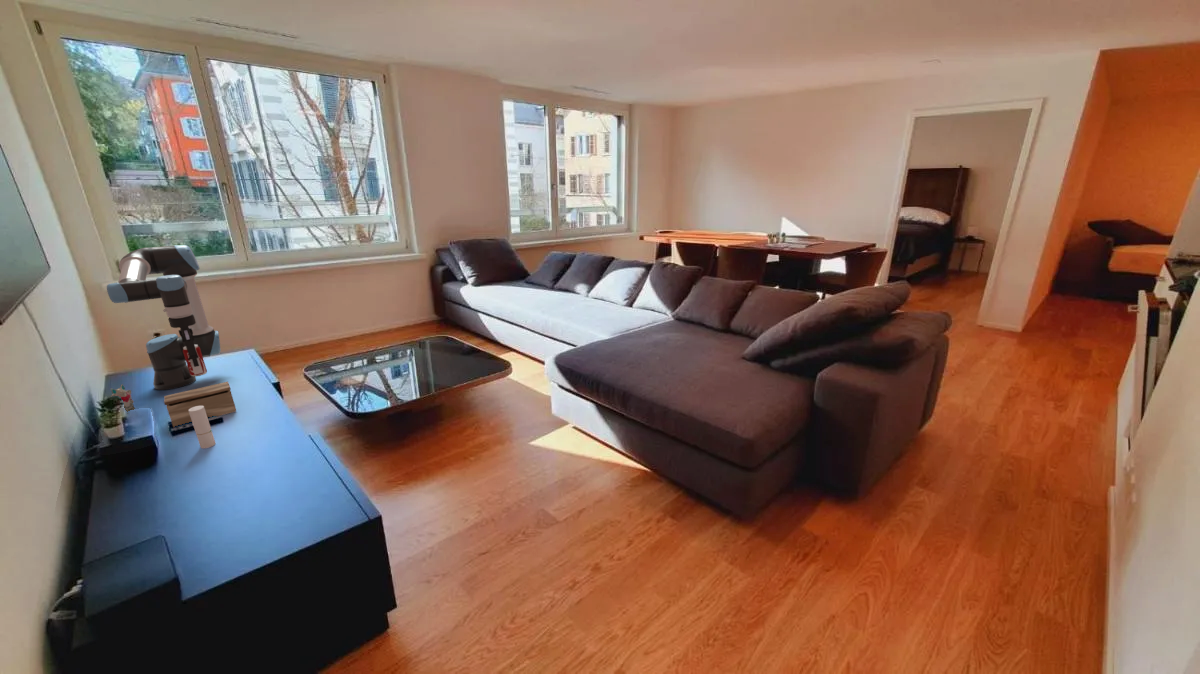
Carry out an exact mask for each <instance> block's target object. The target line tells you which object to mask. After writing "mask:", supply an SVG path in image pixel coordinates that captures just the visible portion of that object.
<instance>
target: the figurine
mask: <svg viewBox="0 0 1200 674" xmlns="http://www.w3.org/2000/svg"><path fill="white" fill-rule="evenodd" d="M110 392H111V396H110V397H112V396H119V397H121V399H122V400H123V403H124V408H125V410H126V411H127V412H128V411H130V410H134V409H135V410H136V407H135V405H134V402H135V401H134V400H133V398H132V390H131V389H127V390H126V388H125V386H124V384H121V385H120V387H118V388H117V389H114V388H110Z"/></svg>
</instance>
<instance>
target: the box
mask: <svg viewBox="0 0 1200 674" xmlns="http://www.w3.org/2000/svg"><path fill="white" fill-rule="evenodd" d="M235 404H236V403H235V402H234V398H233V394H232V390H226V391H222V392H218V393H214V394H210V395H206V396H201V397H197V398H193V399H189V400H185V401H181V402H176V403H172V404H168V405H165V407H166V410H167V413H168V415H169V419H170V422H171V424H172V427H173V428H174V427H175V426H178V425H182V424H185V423H189V422H192V420H191V417H190V414H189V411H188V410H189V409H190V408H192V407H195V406H204V408H205V411H206V415H207V418H208V417H212V416H217V417H220V416H225V415H228V414H231V413H236V412H237V408H236V405H235Z"/></svg>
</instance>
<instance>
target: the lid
mask: <svg viewBox="0 0 1200 674" xmlns="http://www.w3.org/2000/svg"><path fill="white" fill-rule="evenodd" d="M226 390H230V391H232V390H231V386H230V383H229V381H224V382H220V383H216V384H211V385H206V386H202V387H197V388H193V389H190V390H184V391H180V392H175V393H172V394H168V395H164V396H163V397H164V399H163V404H164V406H166V405H168V404H172V403H176V402H181V401H185V400H189V399H193V398H197V397H201V396H206V395H210V394H214V393H218V392H222V391H226Z"/></svg>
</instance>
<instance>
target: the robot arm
mask: <svg viewBox="0 0 1200 674" xmlns="http://www.w3.org/2000/svg"><path fill="white" fill-rule="evenodd" d="M118 268H119V269H118V270H119V271H120V274H119V277H118V281H117V282H114V283H113V282H112V283H108V284H106V293H107V295H108V297H109V298H108V299H110V301H111V302H112V303H113V304H123V303H125V304H127V303H133V302H134V303H135V302H140V301H148V300H156V299H161V301H162V303H163V307H164V308H163V309H162V311H163V312H164V313H166V316H167V317H168V323H169V326H170V327H171V328H174V329H178V328H180V329H179V330H178V333H179V335H177V334H176V333H170V334H169V333H168V334H164V335H161V336H157V337H155V338H152V339H150V340H148V341H147V342H146V344H145V348H146V351H147V352H146V353H147V354H148V357H149V359H150V362H151V365H152V369H153V371H154V376H153V386H154V389H155V390H158V391H167V390H173V389H174V390H175V389H177V388H178V389H179V388H181V387H185V386H187V385H190V384H192V383H194V382H195V381H196V380H197V376H191V375H190V372H189V369H188V366H187V363H186V360H185V356H184V353H183V347H184V346H186V347H187V351H188V354H189V358H187V359H188V360H190V362H191V365H192V368H193V371H194V374H200V373H203V370H202V367H201V364H200V360H199V357H198V355H197V352H196V349H195V346H194V344H197V345H198V347H200V350H201V353H202V356H203V358H206V357H207V358H208V357H212V356H216V355H219V354H220V353H221V351H222V350H221V341H220V335H219V334H220V332H219V331H218V330H215V329H214V326H212V325H209V323H208V318H207V315H206V312H205V310H204V305H203V303H202V299H201V296H200V293H199V290H198V286H197V284H196V279H195V277H196V276H197V274H198V272H197V271H199V270H200V265H199V263H198V260H197V258H196V256H195V254H194V252H193V250H192V248H191V247H190V246H189V245H186V244H182V245H177V244H175V245H165V246H164V245H163V246H154V247H153V246H151V247H142V248H138V249H135V250H132V251H131V252H128V253H127V254H125V255H124V256H123V257H122V258H121V259H120V260H119V263H118ZM160 274H162V276H158V277H156V278H152V279H147V276H148V275H160Z"/></svg>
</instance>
